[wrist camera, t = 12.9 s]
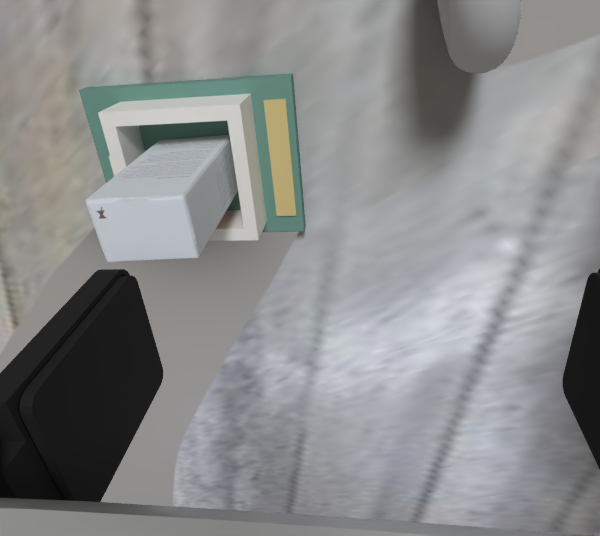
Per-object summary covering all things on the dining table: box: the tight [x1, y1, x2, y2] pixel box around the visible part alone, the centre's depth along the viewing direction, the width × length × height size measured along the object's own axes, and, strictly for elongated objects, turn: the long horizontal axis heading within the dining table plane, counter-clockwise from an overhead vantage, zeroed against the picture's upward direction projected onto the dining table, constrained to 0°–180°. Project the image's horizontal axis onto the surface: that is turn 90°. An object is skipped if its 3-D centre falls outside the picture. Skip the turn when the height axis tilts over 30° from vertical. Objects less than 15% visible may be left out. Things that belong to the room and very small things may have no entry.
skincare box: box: [85, 135, 238, 263], centre depth 33 cm, size 6×4×12 cm
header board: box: [79, 74, 305, 241], centre depth 37 cm, size 16×12×4 cm
